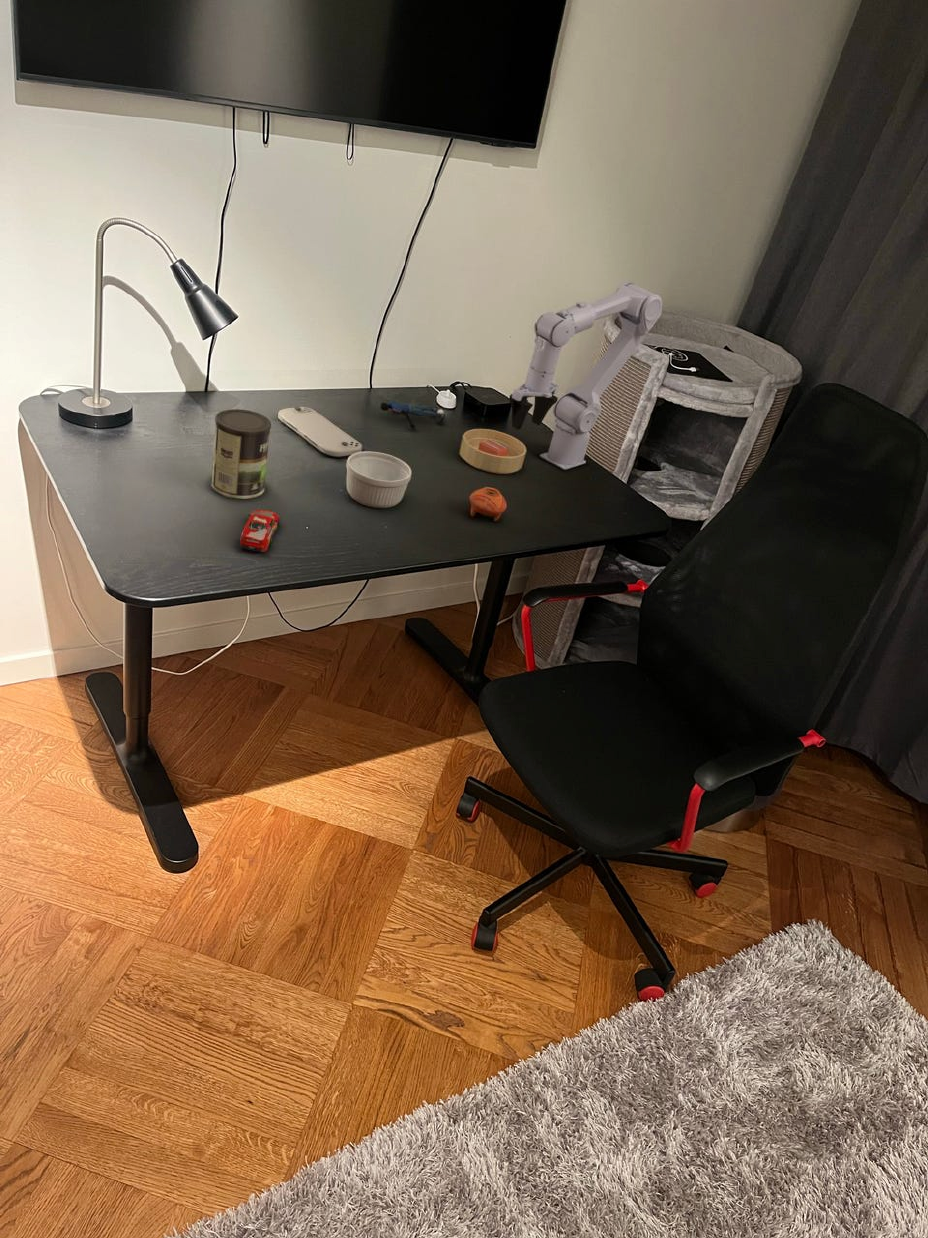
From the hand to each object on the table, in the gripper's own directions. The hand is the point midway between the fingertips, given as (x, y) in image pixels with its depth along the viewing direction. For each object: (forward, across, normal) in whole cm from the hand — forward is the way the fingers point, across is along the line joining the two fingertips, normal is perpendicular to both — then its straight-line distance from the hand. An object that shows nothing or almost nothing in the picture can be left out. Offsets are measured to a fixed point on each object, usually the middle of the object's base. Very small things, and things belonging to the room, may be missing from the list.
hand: (526, 425), depth 210 cm
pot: (+11, -26, -13) cm, 31 cm away
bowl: (+10, -3, +5) cm, 12 cm away
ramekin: (+12, -42, +4) cm, 44 cm away
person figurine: (+11, -6, +29) cm, 32 cm away
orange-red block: (+10, -3, +5) cm, 12 cm away
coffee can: (+12, -65, +19) cm, 69 cm away
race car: (+12, -73, +2) cm, 74 cm away
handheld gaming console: (+11, -34, +31) cm, 48 cm away
